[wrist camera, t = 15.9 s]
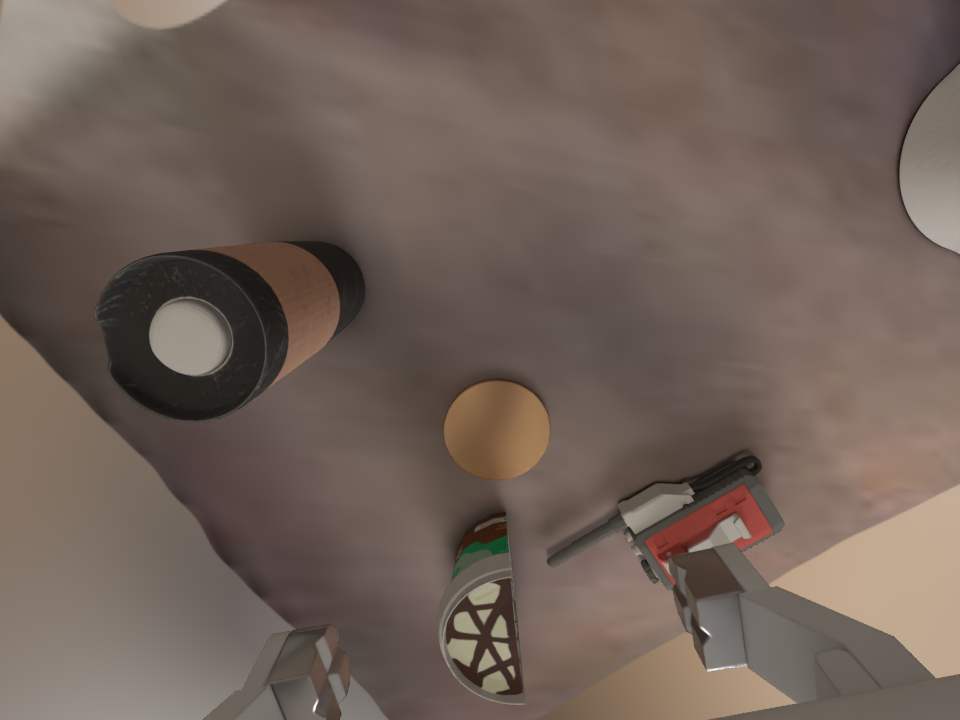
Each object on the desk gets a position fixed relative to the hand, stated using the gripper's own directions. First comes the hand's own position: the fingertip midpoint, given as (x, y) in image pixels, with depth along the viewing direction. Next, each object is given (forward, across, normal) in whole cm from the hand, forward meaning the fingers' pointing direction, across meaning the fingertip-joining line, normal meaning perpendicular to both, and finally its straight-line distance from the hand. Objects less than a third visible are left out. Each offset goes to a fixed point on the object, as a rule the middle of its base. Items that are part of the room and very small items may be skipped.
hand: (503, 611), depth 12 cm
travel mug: (+31, +12, -7) cm, 34 cm away
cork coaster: (+31, +1, +8) cm, 32 cm away
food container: (+31, +6, +20) cm, 38 cm away
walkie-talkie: (+31, -11, +20) cm, 39 cm away
